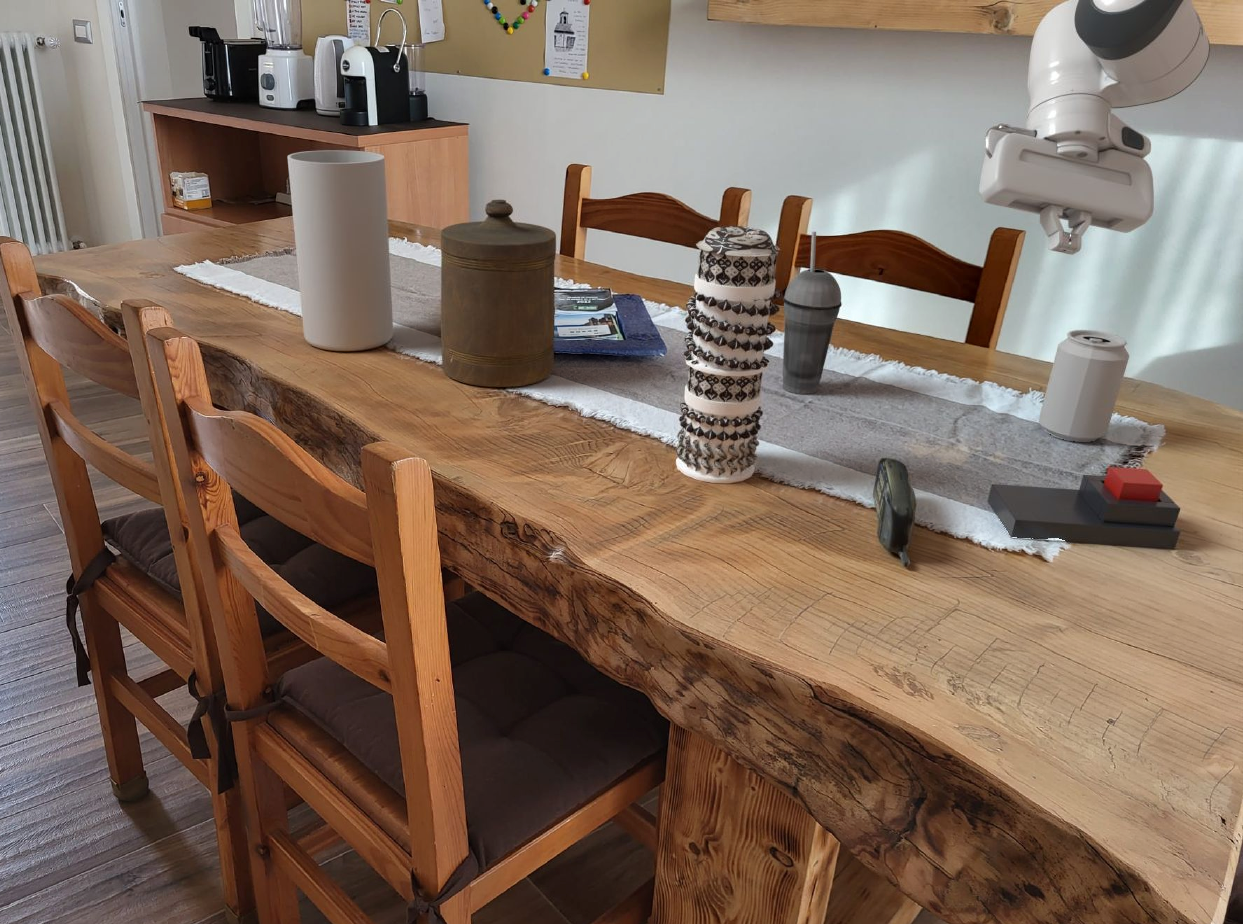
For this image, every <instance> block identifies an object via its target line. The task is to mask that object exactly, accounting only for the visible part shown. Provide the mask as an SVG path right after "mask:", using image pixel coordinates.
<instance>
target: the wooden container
mask: <svg viewBox="0 0 1243 924" xmlns="http://www.w3.org/2000/svg"><path fill="white" fill-rule="evenodd" d="M484 211H485V214H486V215H487V217H486V218H485V219H484V220H482V221H470V222H468V221H467V222H460V223H455V224H452V225H448V226H446V227H444V228H443V229H441V231H440V254H441V256H440V257H441V260H440V262H441V263H440V264H441V265H440V278H441V279H440V284H441V285H440V339H441V340H440V341H441V366H442V371H443V373H444V374H445V375H446V376H447V377H448V378H450V379H452V380H454V381H457V382H459V383H463V384H467V385H470V386H471V385H472V386H477V387H484V388H485V387H486V388H514V387H515V388H516V387H521V386H522V387H523V386H529V385H532V384H535V383H539V382H541V381H544V380H546V379H547V378H548V377H550V376H551V375H552V374H553V371H554V354H555V347H554V343H555V318H556V317H555V316H556V315H555V311H556V310H555V306H556V305H555V260H556V256H557V255H556V254H557V252H556V251H557V234H556V232H555V231H554V230H552V229H551V228H548V227H545V226H542V225H538V224H534V223H527V222H517V221H514V220H513V219H512V218H511V217H510V216H511V215H512V214H513V213H514V208H513V206H512V205H511V204H510V203H508V202H507V200H506V199H492V200H491V201H490V202H488V203H486V204H485V210H484Z"/></svg>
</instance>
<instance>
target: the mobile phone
mask: <svg viewBox="0 0 1243 924" xmlns="http://www.w3.org/2000/svg"><path fill="white" fill-rule="evenodd" d="M872 496H873V500H874V505H875V511H876V515H877V530H876V531H877V533H876V534H877V538H878V541H879V543H880V545H882V546H883V548H884V550H885V551H887V552H891V553H894V554H897V555H898V556H899V558H900V561H901V564H902V566H903V567H904V568H908V567H910V564H911V561H910V559H909V555H908V550H909V548H910V546H911V541H912V538H913V533H914V528H915V524H916V523H915V522H916V510H917V504H918V503H917V498H916V494H915V490H914V488H913V486H912V481H911V476H910V473H909V471H908V467H907V466H906V464H905V463H903V462H902V461H900V460H898V459H894V458H888V457H882V458H881V459H880V460H879V461H878V465H877V471H876V475H875V482H874V487H873V492H872Z"/></svg>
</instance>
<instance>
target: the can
mask: <svg viewBox="0 0 1243 924" xmlns="http://www.w3.org/2000/svg"><path fill="white" fill-rule="evenodd" d="M1066 336H1067V338H1065V339H1064V340H1062V341H1061V342H1059V344H1057V348H1056V352H1055V356H1054V359H1053V364H1052V367H1051V371H1050V375H1049V379H1048V382H1047V385H1046V390H1045V395H1044V398H1043V402H1042V406H1041V409H1040V412H1039V417H1038V423H1039V424H1040V426H1041V427H1042V428H1043V430H1044V431H1045V432H1046V434H1048V435H1050V434H1051V435H1050V436H1052V437H1054V438H1057V439H1060V440H1063V439H1064V440H1063V441H1068V442H1073V441H1075V442H1074V443H1092V442H1095V441H1097V439H1100V438H1102V437H1104V436H1105V435H1107V433H1108V431H1109V426H1110V423H1111V419H1112V417H1113V414H1114V410H1115V406H1116V403H1117V399H1118V396H1119V393H1120V389H1121V386H1122V383H1123V379H1124V376H1125V373H1126V369H1127V366H1128V363H1129V360H1130V354H1129V352H1128V351H1127V349H1126V348H1125V346H1127V344H1128V342H1127V340H1126V339H1125V338H1124V337H1121V336H1118V335H1117V334H1113V333H1109V332H1105V331H1100V330H1093V329H1074V330H1070V331H1068V332H1067V333H1066ZM1091 441H1092V442H1091Z"/></svg>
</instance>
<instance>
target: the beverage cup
mask: <svg viewBox="0 0 1243 924" xmlns="http://www.w3.org/2000/svg"><path fill="white" fill-rule="evenodd" d="M816 243H817V231H811V244H810V247H811V248H810V265H809V266H810V268H808V269H805V270H802V271H801V272H799V273H798V274H796V275H795V276H794V277H793V278H792V279H791V280H790V281H789V283H788V284H787V287H786V290H785V292H784V296H783V298H782V301H783V316H784V332H783V353H782V354H783V355H782V389H783V390H785V391H787V392H788V393H792V394H797V395H812V394H816V393H817V392H818V390H819V385H820V381H821V379H822V375H823V372H824V368H825V362H826V360H827V355H828V352H829V347H830V343H831V338H832V334H833V330H834V326H835V324H836V321H837V319H838V316H839V314H840V308H841V307H842V305H843V303H842V291H841V287H840V285H839V283H838V281H837V279H836V278H835V277H834V275H832V274H831V273H830V272H828V271H826V270H825V269H821V268H815V266H816V245H817V244H816Z"/></svg>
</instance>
